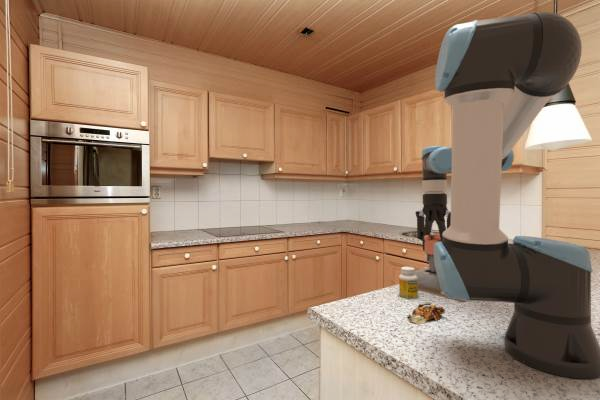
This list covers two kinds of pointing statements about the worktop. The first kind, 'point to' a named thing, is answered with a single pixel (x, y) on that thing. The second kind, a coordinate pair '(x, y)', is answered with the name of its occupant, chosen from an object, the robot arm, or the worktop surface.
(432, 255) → the copper link bar
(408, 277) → the supplement bottle
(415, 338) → the worktop surface
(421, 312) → the brown mottled lumpy part
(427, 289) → the board
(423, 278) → the eye block
